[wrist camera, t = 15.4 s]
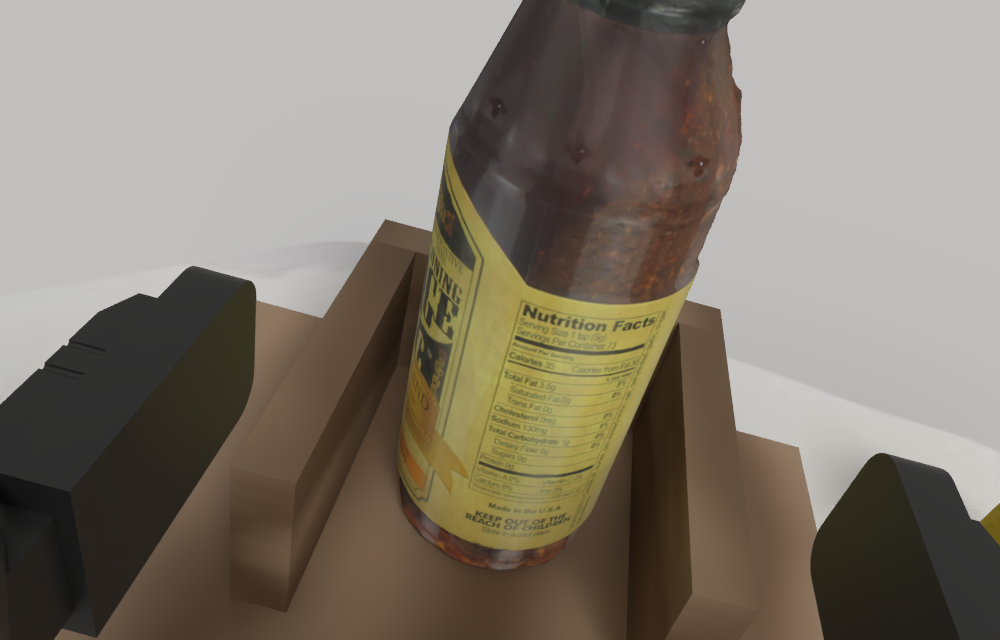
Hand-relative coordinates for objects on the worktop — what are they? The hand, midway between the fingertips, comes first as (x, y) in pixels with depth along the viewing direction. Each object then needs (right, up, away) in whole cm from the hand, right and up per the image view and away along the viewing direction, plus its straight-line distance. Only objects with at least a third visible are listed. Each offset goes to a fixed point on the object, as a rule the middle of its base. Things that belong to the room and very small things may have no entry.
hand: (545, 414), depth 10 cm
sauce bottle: (-1, -5, +14) cm, 15 cm away
